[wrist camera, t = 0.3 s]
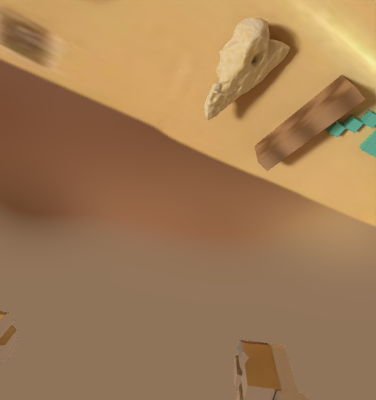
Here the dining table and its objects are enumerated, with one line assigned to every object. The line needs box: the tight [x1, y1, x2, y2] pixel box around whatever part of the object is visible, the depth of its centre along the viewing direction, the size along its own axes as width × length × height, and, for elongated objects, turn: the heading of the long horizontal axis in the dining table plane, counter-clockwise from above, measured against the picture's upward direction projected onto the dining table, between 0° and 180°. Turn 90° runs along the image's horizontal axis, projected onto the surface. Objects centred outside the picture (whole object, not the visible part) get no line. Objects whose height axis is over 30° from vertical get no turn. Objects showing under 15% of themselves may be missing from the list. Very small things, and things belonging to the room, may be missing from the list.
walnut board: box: [255, 75, 365, 171], centre depth 53 cm, size 20×3×6 cm, turn 139°
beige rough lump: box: [204, 17, 290, 120], centre depth 47 cm, size 15×7×15 cm
